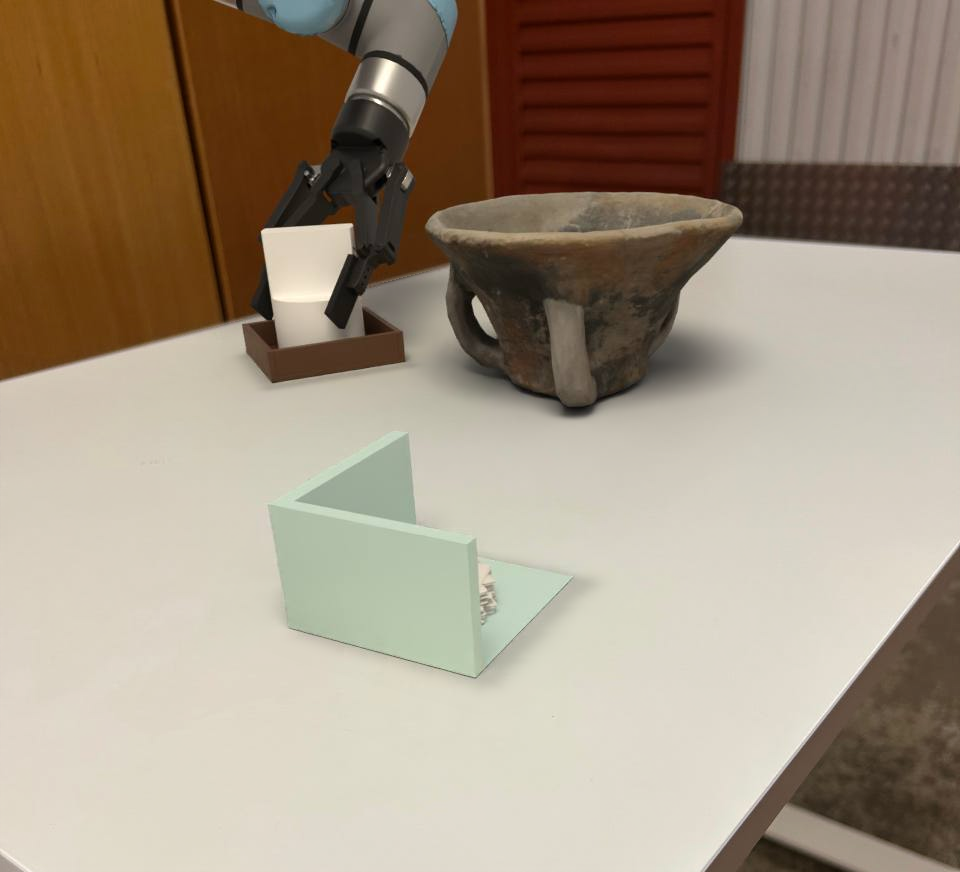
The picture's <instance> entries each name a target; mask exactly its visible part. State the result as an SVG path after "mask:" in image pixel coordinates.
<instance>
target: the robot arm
mask: <svg viewBox="0 0 960 872" xmlns="http://www.w3.org/2000/svg"><path fill="white" fill-rule="evenodd" d="M213 1H215V2H217V3H220V4H223V5H225V6H228V7H230V8H233V9H235V10H239V11H240V12H244V13H245V14H248V15H250V16H253V17H255V18H258V19H261V20H263V21H266V22H268V23H271V24H273V25H276V27H278V28H279V29H281V30H283V31H285V32H286V33H291V34H293V35H297V36H300V37H311V36H317V37H318V38H320V39H322V40H324V41H326V42H328V43H330V44H331V45H333V46H336V47H337V48H340V49H341V50H343V51H345V52H346V53H348V54H349V55H351V56H353V57H357V58H358V59H360V62H359V64H358V67H357V69H356V71H355V74H354V76H353V79H352V81H351V83H350V85H349V88H348V90H347V91H346V94H345V98H344V103H343V104H342V105H341V107H340V109H339V112H338V114H337V117H336V120H335V121H334V123H333V127H332V129H331V132H330V151H329V153H328V155H327V156H326V157H325V158H324V159H323V160H322V162H321V164H316V165H311V164H310V163H309V162H308V161H307V160H306V159H303V160H301V161H299V162H298V163H297V166H296V170H295V173H294V176H293V180H292V181H291V183H290V184H289V186H288V187H287V188H286V191H285V192H284V194H283V196H282V197H281V198H280V200H279V202H278V203H277V205H276V206H275V208H274V210H273V211H272V213H271V214H270V217H269V218H268V220H267V221H266V222H265V224H264V226H263V227H262V229H261V231H262V230H264V229H266V228H283V227H299V226H315V225H323V223H324V222H325V221H326V219H328V217H329V216H335V215H336V214H337V213H338V212H339V211H340V209H341V208H346V207H353V208H354V219H355V222H354V223H355V247H356V249H355V248H354V247H353V249H354V250H355V252H356V256H357V255H358V256H357V257H356V256H355V255H354V254H348V255H347V258H346V260H345V263H344V265H343V268H342V270H341V272H340V275H339V277H338V280H337V282H336V285H335V287H334V290H333V292H332V295H331V297H330V300H329V302H328V304H327V307H326V309H325V312H324V314H325V315H326V316H327V317H328V318H329V319H330V320H331V321H332V322H333V323H334V324H335V325H336V326H337V327H338V328H339V329H345V328H346V325H347V323H348V320H349V318H350V315H351V313H352V310H353V308H354V305H355V303H356V300H357V298H358V296H361V297H362V296H363V295H364V294H365V292H366V291H367V287H368V285H369V282H370V280H371V277H372V275H373V274H374V271H375V270H377V269H378V268H379V266H380V265H383V264H386V265H387V266H392V265H394V264H395V263H396V261H397V259H398V255H399V249H400V244H401V239H402V233H403V228H404V223H405V217H406V213H407V207H408V201H409V198H410V196H411V194H412V192H413V190H414V189H415V187H416V184H417V179H416V178H415V176H414V175H413V174H412V172H411V170H410V169H409V168H408V166H407V165H406V164H405V162H404V161H403V160H404V157H405V155H406V153H407V149H408V147H409V145H410V139H411V137H412V136H413V134H414V132H415V129H416V127H417V124H418V121H419V119H420V117H421V114H422V112H423V109H424V108H425V104H426V102H427V99H428V97H429V95H430V93H431V90H432V88H433V85H434V83H435V80H436V78H437V76H438V75H439V71H440V68H441V66H442V64H443V62H444V60H445V57H446V54H447V52H448V49H449V47H450V43H451V40H452V38H453V34H454V31H455V29H456V26H457V20H458V6H457V2H456V0H213ZM383 190H384V192H383V198H382V202H381V206H380V198H379V197H380V194H381V192H382V191H383ZM324 193H325V194H326V195H327V197H328V198H329V199H330V200H331V201H330V200H328V199H327V197H326V196H325V194H324ZM380 207H381V208H380ZM378 214H379V216H378ZM378 217H379V218H378ZM261 231H260V232H259V233H258V235H257V241H258V242H259V244H260V245H261V246H263V243H262V236H261ZM258 279H259V283H258V285H257V288H256V290H255V292H254V295H253V297H252V298H251V299H252V300H251V302H250V304H249V306H250V307H251V308H253V310H255V312H257V313H258V314H259V316H261V317H262V318H263V319H264V320H265V321H266V320H270V321H272V320H273V319H274V314H273V308H272V301H271V295H270V288H269V282H268V275H267V269H266V262H265V261H264V262H263V265H262V268H261V270H260V272H259V277H258Z"/></svg>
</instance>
